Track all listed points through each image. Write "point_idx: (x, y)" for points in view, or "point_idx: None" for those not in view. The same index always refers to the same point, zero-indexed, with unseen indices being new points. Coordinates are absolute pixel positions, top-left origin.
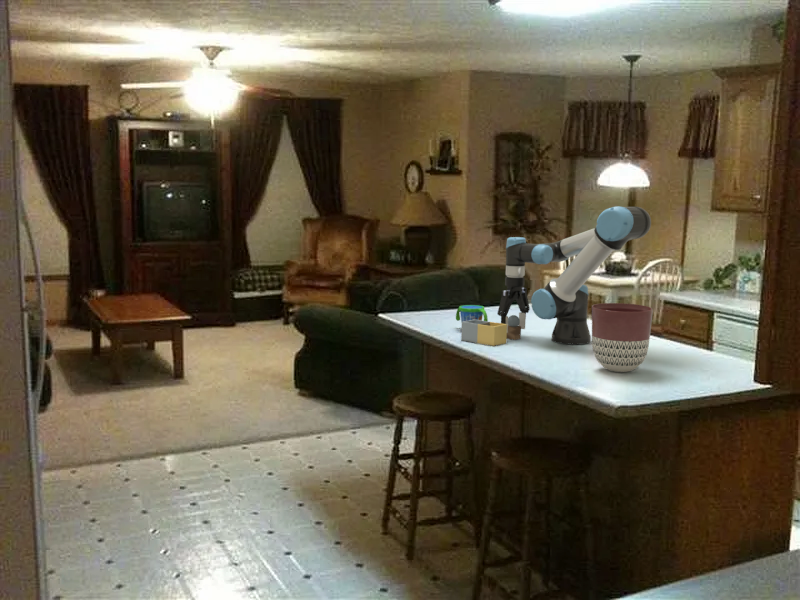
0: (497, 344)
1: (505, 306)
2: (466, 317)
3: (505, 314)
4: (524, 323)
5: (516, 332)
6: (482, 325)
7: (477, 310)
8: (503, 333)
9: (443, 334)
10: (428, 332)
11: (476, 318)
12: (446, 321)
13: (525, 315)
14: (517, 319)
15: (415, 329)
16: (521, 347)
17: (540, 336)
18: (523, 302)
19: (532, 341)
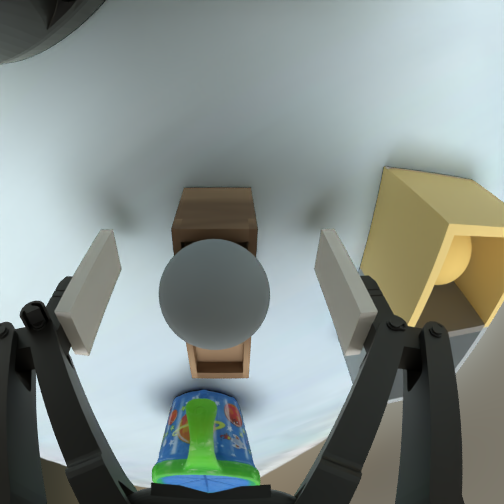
0: (453, 177)
1: (440, 393)
2: (250, 449)
3: (404, 328)
4: (97, 253)
5: (235, 208)
6: (502, 300)
7: (227, 467)
8: (443, 196)
9: (333, 405)
10: (328, 428)
11: (223, 436)
12: (157, 458)
13: (64, 296)
14: (224, 270)
15: (308, 449)
16: (429, 47)
17: (37, 154)
18: (55, 416)
19: (209, 76)
